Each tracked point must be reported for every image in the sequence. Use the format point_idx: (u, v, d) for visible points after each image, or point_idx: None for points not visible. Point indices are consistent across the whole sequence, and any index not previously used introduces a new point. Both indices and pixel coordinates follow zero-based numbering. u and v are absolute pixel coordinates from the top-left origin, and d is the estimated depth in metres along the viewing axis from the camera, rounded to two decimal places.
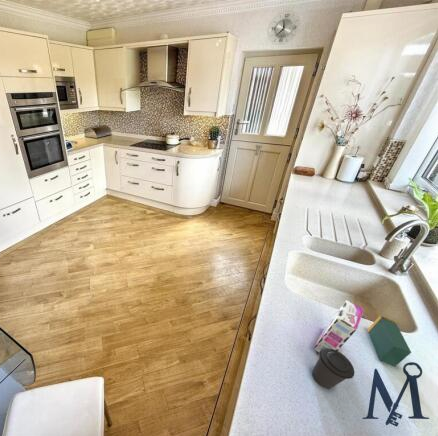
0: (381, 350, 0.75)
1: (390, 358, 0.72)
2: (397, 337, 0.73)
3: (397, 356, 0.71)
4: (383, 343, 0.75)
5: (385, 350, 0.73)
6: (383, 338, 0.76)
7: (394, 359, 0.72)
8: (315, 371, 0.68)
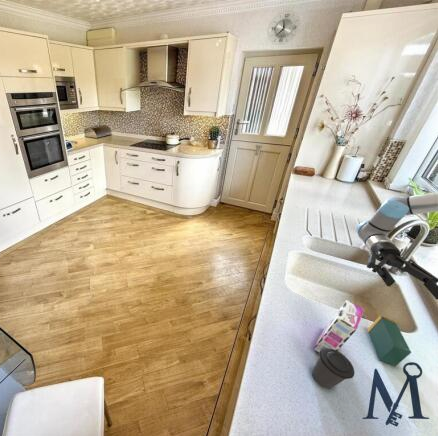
0: (381, 350, 0.75)
1: (390, 358, 0.72)
2: (397, 337, 0.73)
3: (397, 356, 0.71)
4: (383, 343, 0.75)
5: (385, 350, 0.73)
6: (383, 338, 0.76)
7: (394, 359, 0.72)
8: (315, 371, 0.68)
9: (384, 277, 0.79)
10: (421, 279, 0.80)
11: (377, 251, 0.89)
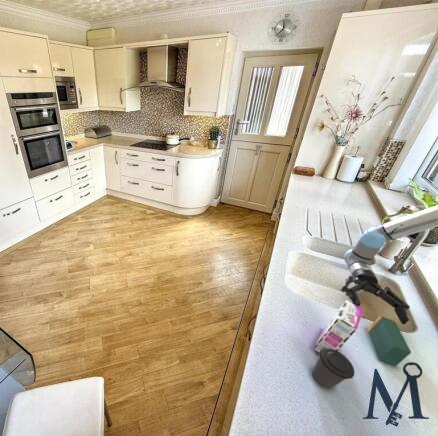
0: (381, 350, 0.75)
1: (390, 358, 0.72)
2: (397, 337, 0.73)
3: (397, 356, 0.71)
4: (383, 343, 0.75)
5: (385, 350, 0.73)
6: (383, 338, 0.76)
7: (394, 359, 0.72)
8: (315, 371, 0.68)
9: (353, 300, 0.88)
10: (393, 305, 0.87)
11: (355, 277, 0.97)
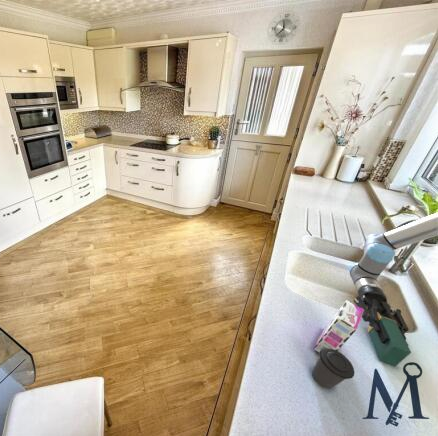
0: (381, 350, 0.75)
1: (390, 358, 0.72)
2: (397, 337, 0.73)
3: (397, 356, 0.71)
4: None
5: (385, 350, 0.73)
6: None
7: (394, 359, 0.72)
8: (315, 371, 0.68)
9: (379, 332, 0.77)
10: None
11: (362, 295, 0.89)
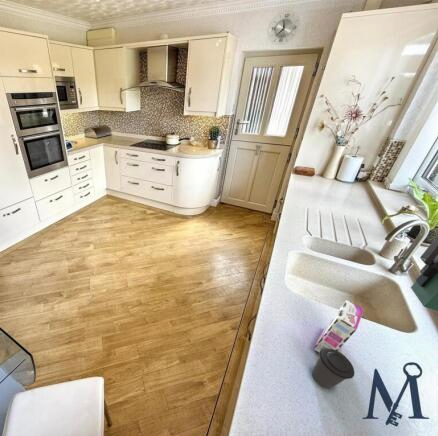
0: None
1: None
2: None
3: None
4: None
5: None
6: None
7: None
8: (315, 371, 0.68)
9: None
10: None
11: None
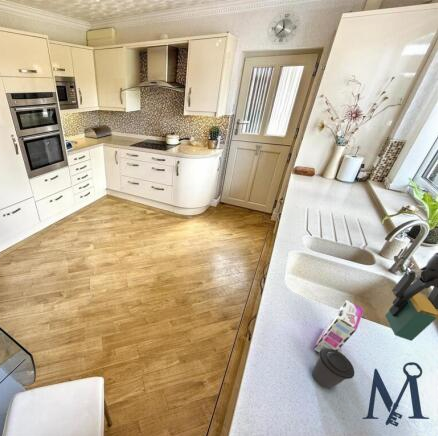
0: None
1: None
2: None
3: None
4: None
5: None
6: None
7: None
8: (315, 371, 0.68)
9: None
10: None
11: None
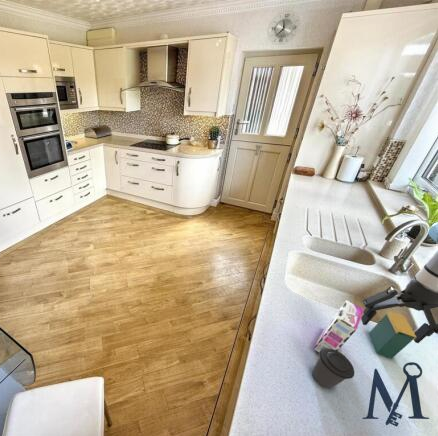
0: None
1: None
2: None
3: None
4: None
5: None
6: None
7: None
8: (315, 371, 0.68)
9: None
10: None
11: None
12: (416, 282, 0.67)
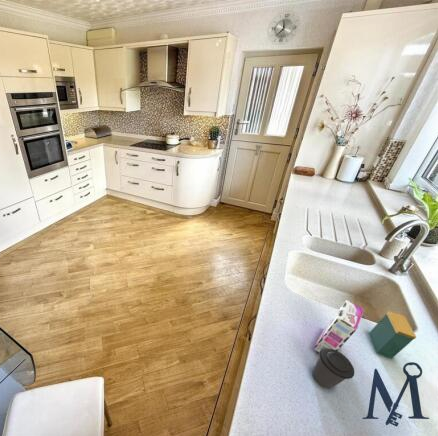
0: None
1: None
2: None
3: None
4: None
5: None
6: None
7: None
8: (315, 371, 0.68)
9: None
10: None
11: None
12: None
